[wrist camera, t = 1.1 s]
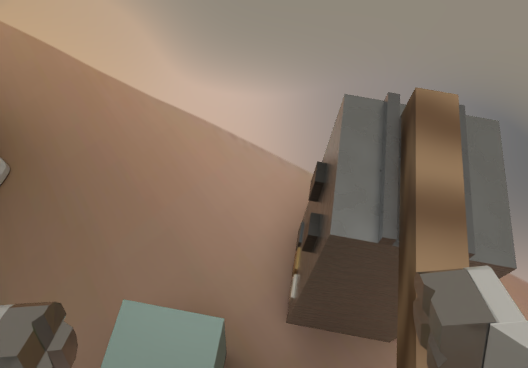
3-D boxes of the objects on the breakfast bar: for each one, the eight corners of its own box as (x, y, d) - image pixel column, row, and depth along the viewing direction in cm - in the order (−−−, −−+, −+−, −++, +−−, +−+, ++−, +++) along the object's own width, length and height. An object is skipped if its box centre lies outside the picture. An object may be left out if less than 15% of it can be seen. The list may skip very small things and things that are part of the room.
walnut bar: (451, 412, 24) (478, 409, 21) (395, 401, 24) (416, 397, 21) (440, 121, 34) (458, 94, 31) (401, 114, 34) (415, 87, 31)
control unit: (389, 342, 51) (525, 263, 27) (279, 321, 51) (320, 225, 28) (392, 245, 57) (505, 112, 33) (293, 227, 57) (337, 83, 34)
